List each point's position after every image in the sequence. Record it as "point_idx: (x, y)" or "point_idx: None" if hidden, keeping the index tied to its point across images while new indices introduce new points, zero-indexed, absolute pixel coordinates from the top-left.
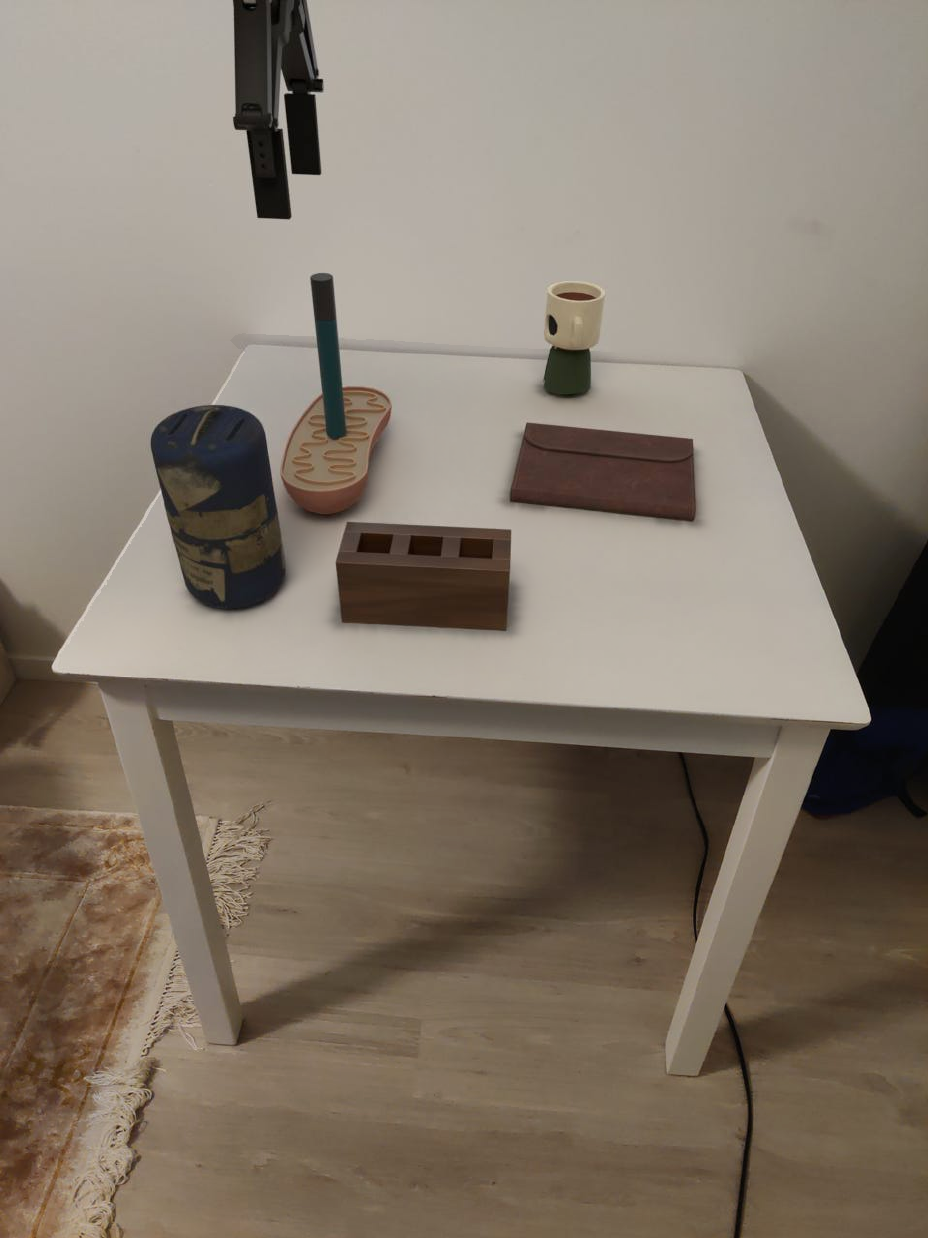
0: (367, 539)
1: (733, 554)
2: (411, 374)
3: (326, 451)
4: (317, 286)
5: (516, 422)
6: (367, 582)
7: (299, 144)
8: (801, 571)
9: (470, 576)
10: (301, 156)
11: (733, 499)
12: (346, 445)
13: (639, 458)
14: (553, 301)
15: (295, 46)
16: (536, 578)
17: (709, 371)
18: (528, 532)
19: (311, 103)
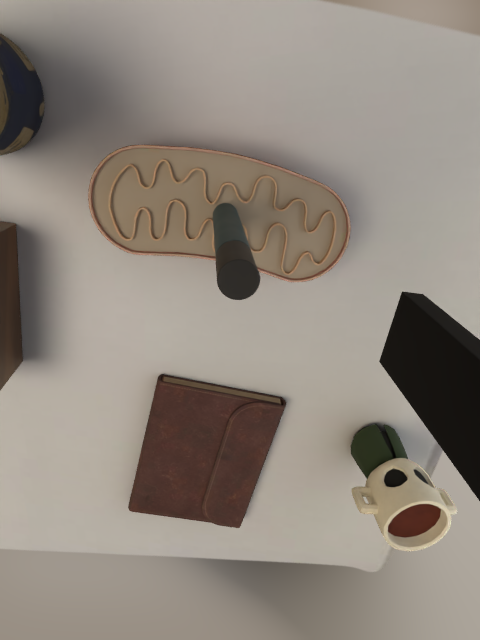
0: None
1: (88, 517)
2: (445, 290)
3: (181, 204)
4: (218, 269)
5: (311, 391)
6: None
7: (426, 355)
8: (70, 550)
9: None
10: (412, 341)
11: (165, 530)
12: (200, 227)
13: (207, 487)
14: (404, 500)
15: None
16: (41, 384)
17: (381, 552)
18: (110, 384)
19: (471, 479)
